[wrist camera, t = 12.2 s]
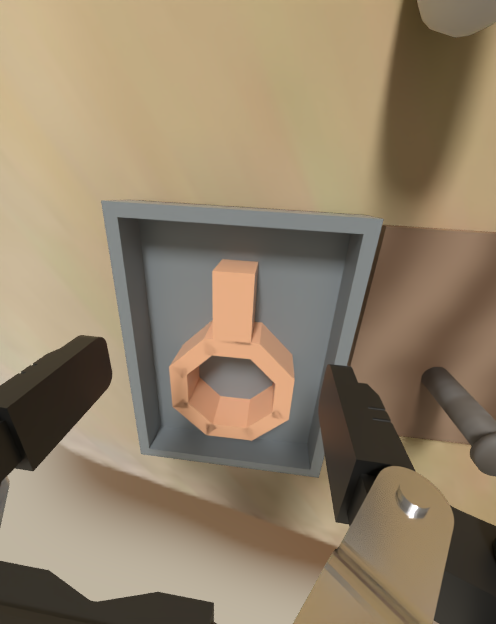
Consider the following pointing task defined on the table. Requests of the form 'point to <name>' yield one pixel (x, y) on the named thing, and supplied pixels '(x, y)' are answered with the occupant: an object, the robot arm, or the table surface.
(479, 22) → the donut
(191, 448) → the tray
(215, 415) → the ring
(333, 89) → the table surface
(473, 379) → the panel
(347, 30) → the table surface
